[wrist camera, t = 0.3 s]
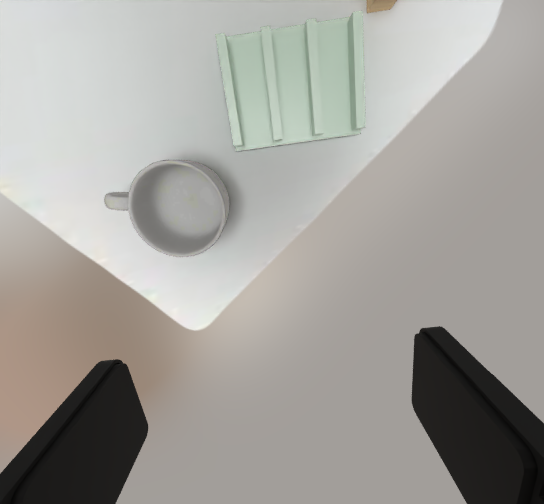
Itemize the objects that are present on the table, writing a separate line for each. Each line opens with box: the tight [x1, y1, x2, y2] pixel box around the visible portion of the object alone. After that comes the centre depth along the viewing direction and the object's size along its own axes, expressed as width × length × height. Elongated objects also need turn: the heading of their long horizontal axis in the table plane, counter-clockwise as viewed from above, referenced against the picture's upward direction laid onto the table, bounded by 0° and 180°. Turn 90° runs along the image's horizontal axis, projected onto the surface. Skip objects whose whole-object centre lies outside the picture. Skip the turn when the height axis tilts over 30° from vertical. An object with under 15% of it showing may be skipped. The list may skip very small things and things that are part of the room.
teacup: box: [104, 160, 229, 257], centre depth 33 cm, size 14×11×8 cm
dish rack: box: [215, 11, 365, 151], centre depth 31 cm, size 12×16×3 cm
